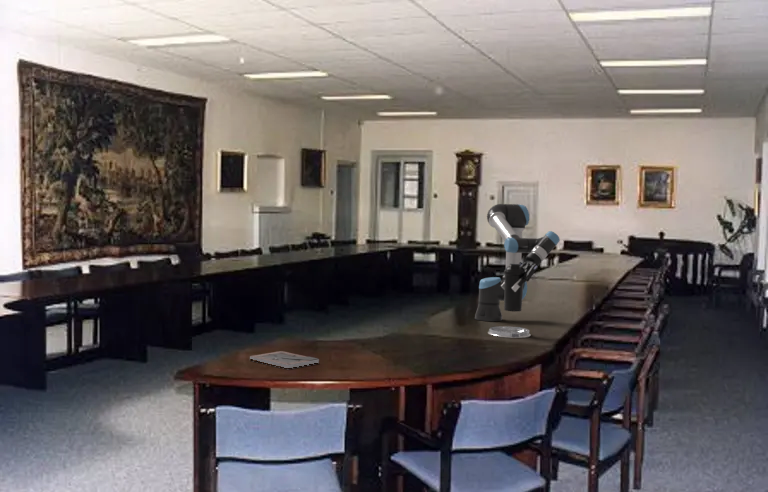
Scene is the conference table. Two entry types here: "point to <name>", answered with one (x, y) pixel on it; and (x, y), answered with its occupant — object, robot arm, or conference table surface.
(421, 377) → the conference table surface
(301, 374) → the conference table surface
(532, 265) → the robot arm
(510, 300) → the water bottle
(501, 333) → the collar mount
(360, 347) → the conference table surface
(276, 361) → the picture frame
